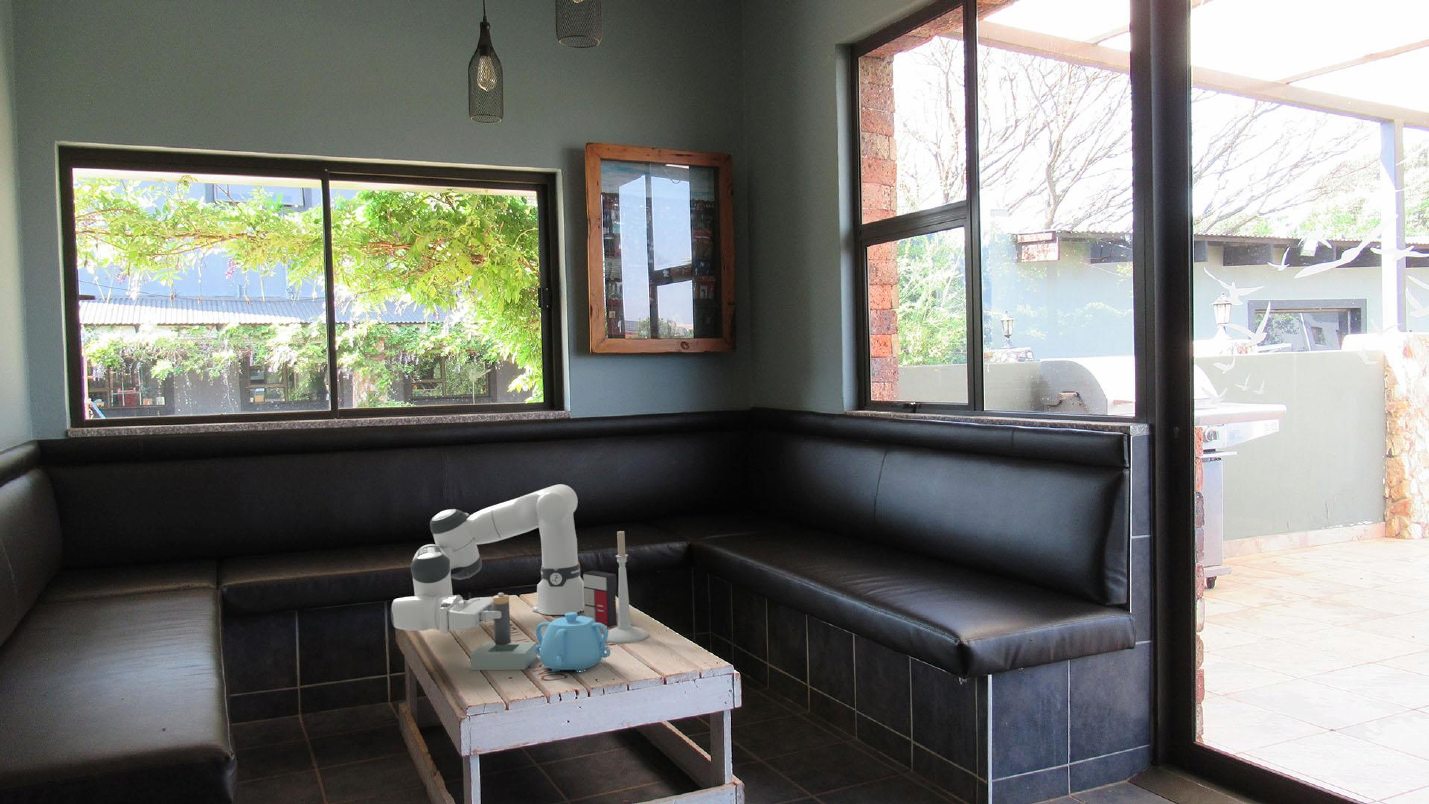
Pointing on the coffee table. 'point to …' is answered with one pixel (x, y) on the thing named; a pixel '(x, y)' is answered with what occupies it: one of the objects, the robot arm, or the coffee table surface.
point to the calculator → (600, 597)
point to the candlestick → (624, 604)
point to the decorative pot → (572, 643)
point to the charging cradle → (503, 656)
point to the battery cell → (502, 619)
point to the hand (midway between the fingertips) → (505, 611)
